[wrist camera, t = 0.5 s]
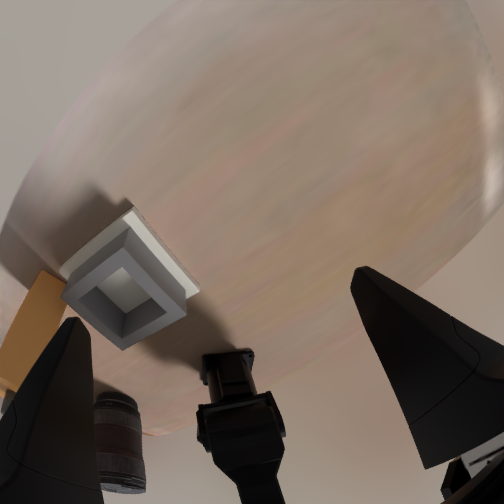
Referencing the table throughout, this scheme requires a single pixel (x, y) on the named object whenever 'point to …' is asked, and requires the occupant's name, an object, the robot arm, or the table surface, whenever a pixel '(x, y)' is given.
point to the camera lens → (119, 444)
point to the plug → (30, 333)
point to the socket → (127, 282)
